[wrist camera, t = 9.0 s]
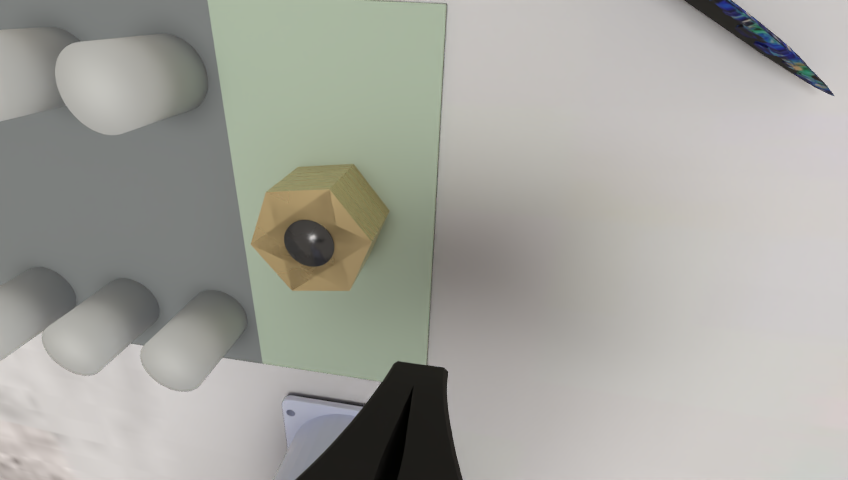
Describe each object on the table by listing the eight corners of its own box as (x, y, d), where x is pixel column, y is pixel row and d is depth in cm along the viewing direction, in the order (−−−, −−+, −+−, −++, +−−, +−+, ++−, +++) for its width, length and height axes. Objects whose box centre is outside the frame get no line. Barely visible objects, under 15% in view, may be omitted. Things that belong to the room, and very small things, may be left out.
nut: (396, 254, 21) (379, 291, 19) (293, 256, 22) (263, 291, 20) (382, 162, 19) (361, 188, 17) (271, 168, 20) (234, 193, 18)
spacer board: (425, 385, 25) (410, 453, 21) (-5, 320, 28) (-82, 368, 25) (446, 4, 17) (428, 5, 13) (-165, -25, 20) (-319, -31, 16)
